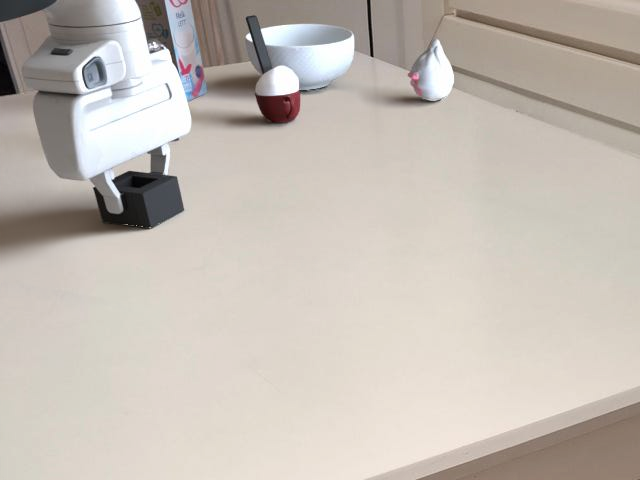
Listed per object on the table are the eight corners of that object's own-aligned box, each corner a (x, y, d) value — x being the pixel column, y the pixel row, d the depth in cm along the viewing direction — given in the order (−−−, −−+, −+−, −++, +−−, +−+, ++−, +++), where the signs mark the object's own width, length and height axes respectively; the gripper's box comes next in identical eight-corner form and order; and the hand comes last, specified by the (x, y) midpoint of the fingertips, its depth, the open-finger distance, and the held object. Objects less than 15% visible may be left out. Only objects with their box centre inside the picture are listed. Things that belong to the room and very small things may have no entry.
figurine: (402, 99, 139) (398, 37, 134) (443, 94, 142) (441, 33, 136) (419, 108, 135) (416, 45, 130) (461, 103, 137) (460, 41, 132)
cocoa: (305, 126, 128) (292, 25, 120) (260, 129, 127) (244, 28, 119) (300, 110, 135) (288, 13, 127) (258, 112, 134) (243, 15, 126)
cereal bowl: (235, 95, 142) (226, 41, 137) (276, 71, 154) (269, 22, 149) (337, 100, 139) (332, 46, 134) (371, 76, 151) (367, 25, 146)
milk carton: (207, 92, 143) (174, -85, 128) (185, 102, 139) (148, -80, 124) (171, 90, 145) (134, -86, 130) (147, 99, 140) (106, -81, 125)
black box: (151, 229, 98) (142, 193, 96) (102, 222, 100) (92, 187, 97) (184, 210, 103) (177, 176, 100) (137, 204, 104) (128, 170, 102)
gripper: (139, 33, 98) (170, 170, 108) (7, 73, 84) (56, 227, 94) (189, 36, 97) (215, 175, 106) (62, 77, 83) (106, 234, 92)
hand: (140, 200), depth 100 cm, fingers closed on black box, 6 cm apart
